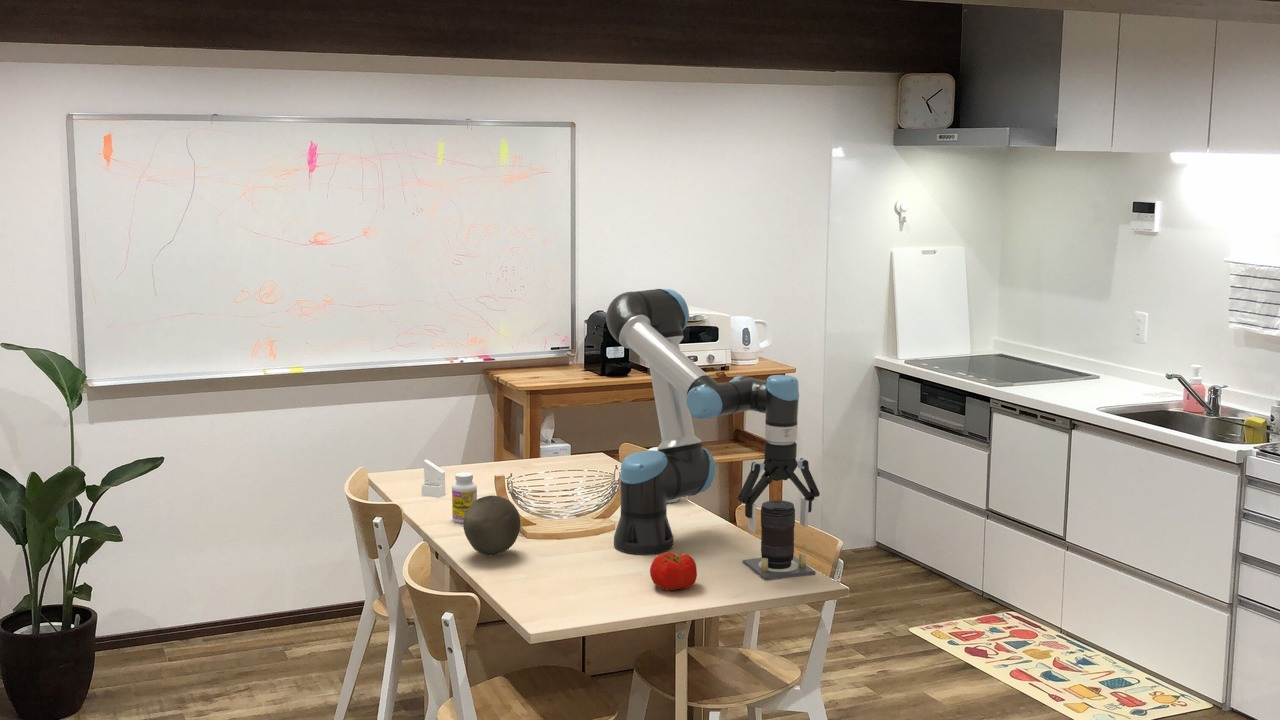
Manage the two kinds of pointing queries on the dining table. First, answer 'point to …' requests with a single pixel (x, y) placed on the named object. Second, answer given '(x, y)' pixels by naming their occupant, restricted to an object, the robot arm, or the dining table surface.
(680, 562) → the tomato
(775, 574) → the mount
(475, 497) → the supplement bottle
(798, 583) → the dining table surface
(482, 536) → the matte black sphere
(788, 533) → the camera lens
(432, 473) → the white wedge bracket
